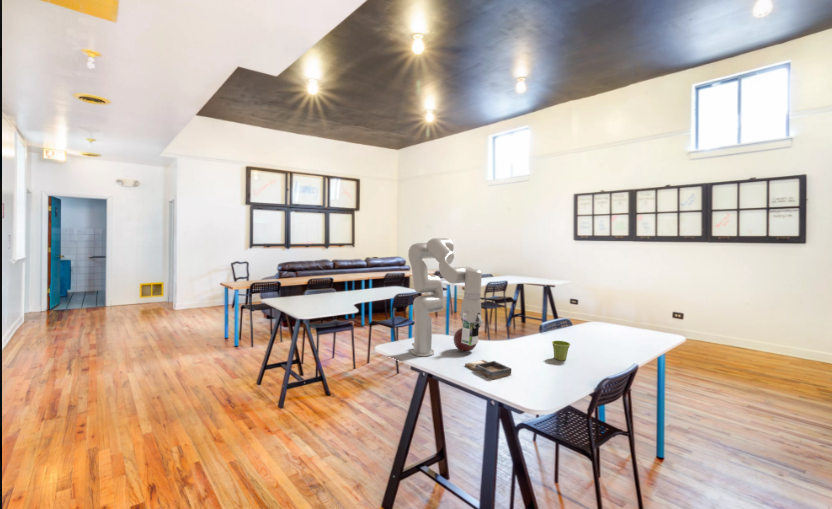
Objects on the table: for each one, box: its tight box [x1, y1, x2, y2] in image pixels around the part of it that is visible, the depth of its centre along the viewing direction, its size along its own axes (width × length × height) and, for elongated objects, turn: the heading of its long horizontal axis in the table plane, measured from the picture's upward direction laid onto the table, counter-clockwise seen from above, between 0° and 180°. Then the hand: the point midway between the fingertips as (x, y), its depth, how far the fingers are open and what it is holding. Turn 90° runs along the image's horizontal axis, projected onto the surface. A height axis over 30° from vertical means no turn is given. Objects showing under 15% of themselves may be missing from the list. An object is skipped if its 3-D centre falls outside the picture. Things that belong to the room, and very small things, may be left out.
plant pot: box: [551, 340, 571, 361], centre depth 228 cm, size 9×9×9 cm
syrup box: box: [461, 313, 479, 346], centre depth 198 cm, size 6×6×14 cm
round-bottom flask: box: [453, 327, 477, 353], centre depth 236 cm, size 13×13×20 cm
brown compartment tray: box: [464, 359, 512, 380], centre depth 208 cm, size 20×12×3 cm, turn 32°
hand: (470, 333), depth 198 cm, fingers closed on syrup box, 6 cm apart
